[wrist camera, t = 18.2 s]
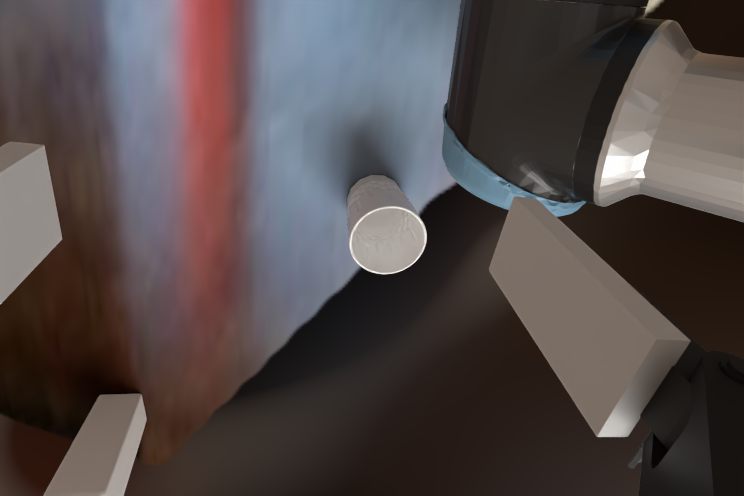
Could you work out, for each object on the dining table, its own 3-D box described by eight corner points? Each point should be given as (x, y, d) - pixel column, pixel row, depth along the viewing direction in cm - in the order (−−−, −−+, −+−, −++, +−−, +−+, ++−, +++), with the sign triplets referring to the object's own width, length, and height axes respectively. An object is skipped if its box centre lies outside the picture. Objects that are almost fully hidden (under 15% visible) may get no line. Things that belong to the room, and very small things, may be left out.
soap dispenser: (103, 423, 66) (24, 597, 47) (94, 391, 63) (5, 565, 44) (151, 421, 67) (92, 591, 48) (144, 390, 64) (78, 559, 45)
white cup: (337, 174, 52) (344, 213, 43) (404, 164, 52) (424, 200, 43) (346, 234, 56) (354, 280, 47) (409, 224, 56) (428, 267, 48)
